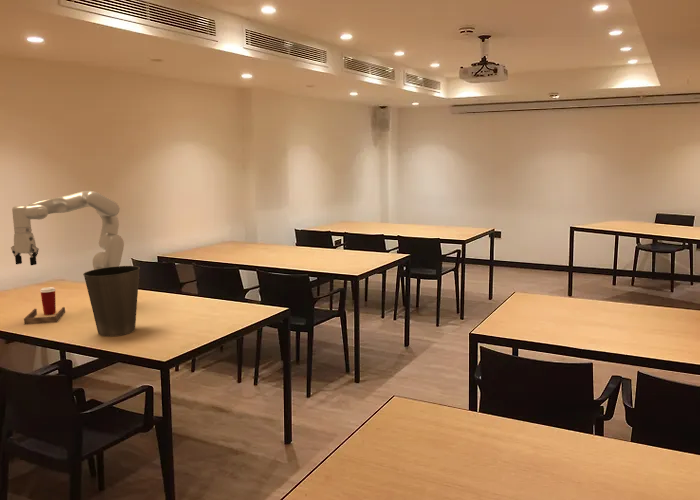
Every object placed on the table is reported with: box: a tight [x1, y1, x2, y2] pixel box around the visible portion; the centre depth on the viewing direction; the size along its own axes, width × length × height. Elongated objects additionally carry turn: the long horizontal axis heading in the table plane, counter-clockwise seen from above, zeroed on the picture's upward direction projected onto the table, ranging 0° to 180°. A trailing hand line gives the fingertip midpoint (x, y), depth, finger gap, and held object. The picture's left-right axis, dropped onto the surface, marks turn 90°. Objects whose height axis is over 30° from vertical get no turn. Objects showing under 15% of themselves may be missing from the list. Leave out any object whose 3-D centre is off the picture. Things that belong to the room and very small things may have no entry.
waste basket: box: [83, 265, 141, 337], centre depth 286 cm, size 27×20×30 cm
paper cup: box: [39, 286, 57, 316], centre depth 322 cm, size 8×8×14 cm
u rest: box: [23, 306, 66, 325], centre depth 314 cm, size 15×21×3 cm
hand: (26, 264), depth 301 cm, fingers open, 9 cm apart
